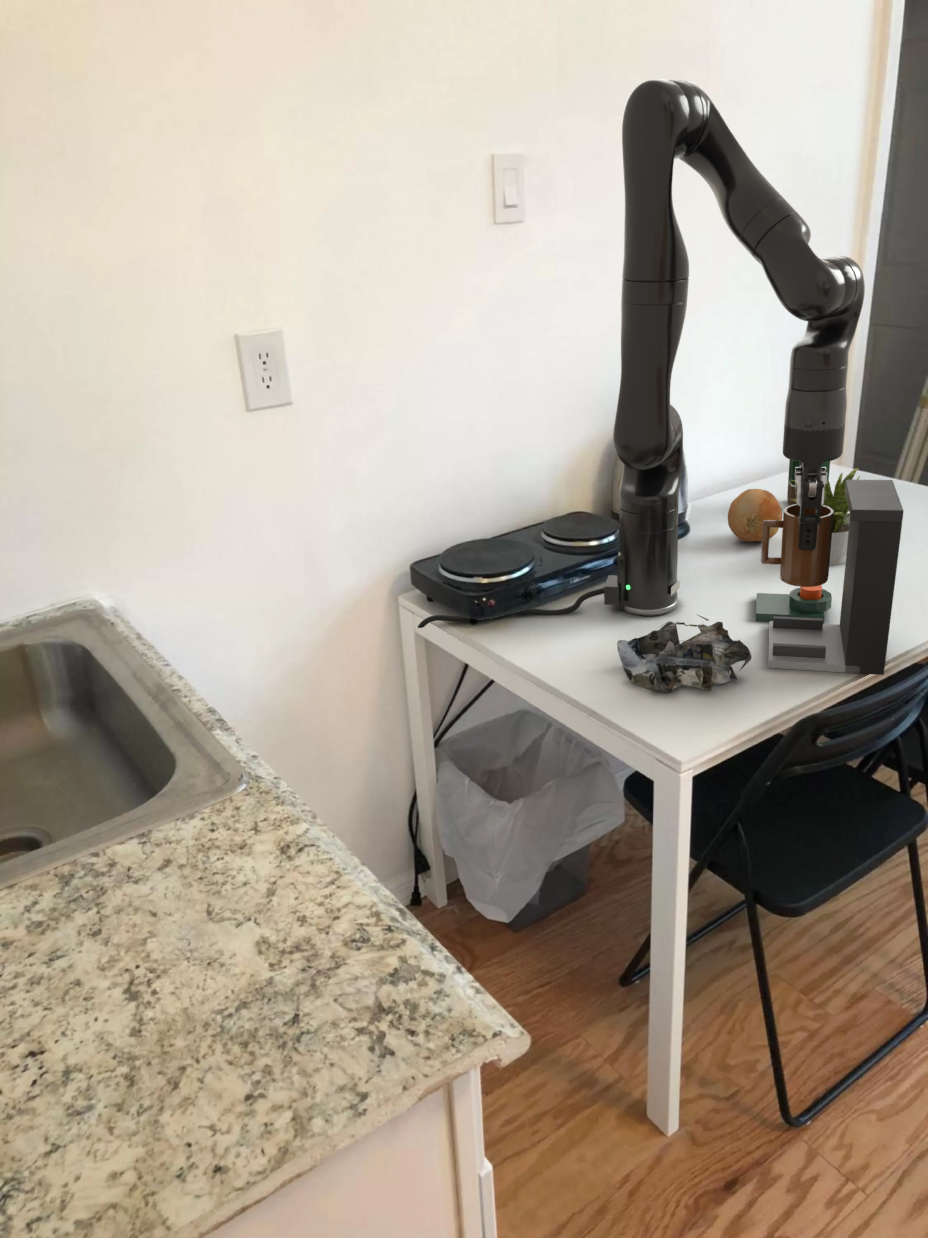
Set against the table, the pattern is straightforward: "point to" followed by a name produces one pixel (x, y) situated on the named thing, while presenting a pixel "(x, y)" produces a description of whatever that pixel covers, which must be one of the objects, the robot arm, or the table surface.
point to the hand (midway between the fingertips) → (805, 539)
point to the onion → (753, 514)
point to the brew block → (791, 605)
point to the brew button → (811, 592)
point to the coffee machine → (851, 593)
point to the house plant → (838, 518)
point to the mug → (794, 562)
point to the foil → (682, 658)
